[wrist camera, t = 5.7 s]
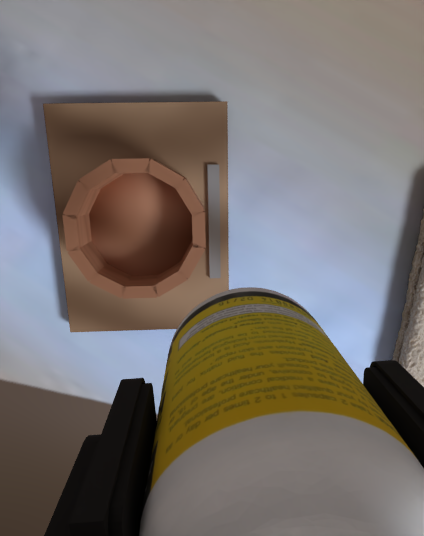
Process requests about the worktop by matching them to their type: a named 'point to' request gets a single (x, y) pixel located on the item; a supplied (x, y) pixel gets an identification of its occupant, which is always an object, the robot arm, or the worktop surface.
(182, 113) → the cup station
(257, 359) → the supplement bottle
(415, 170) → the worktop surface
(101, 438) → the robot arm
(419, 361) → the washcloth
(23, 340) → the worktop surface
